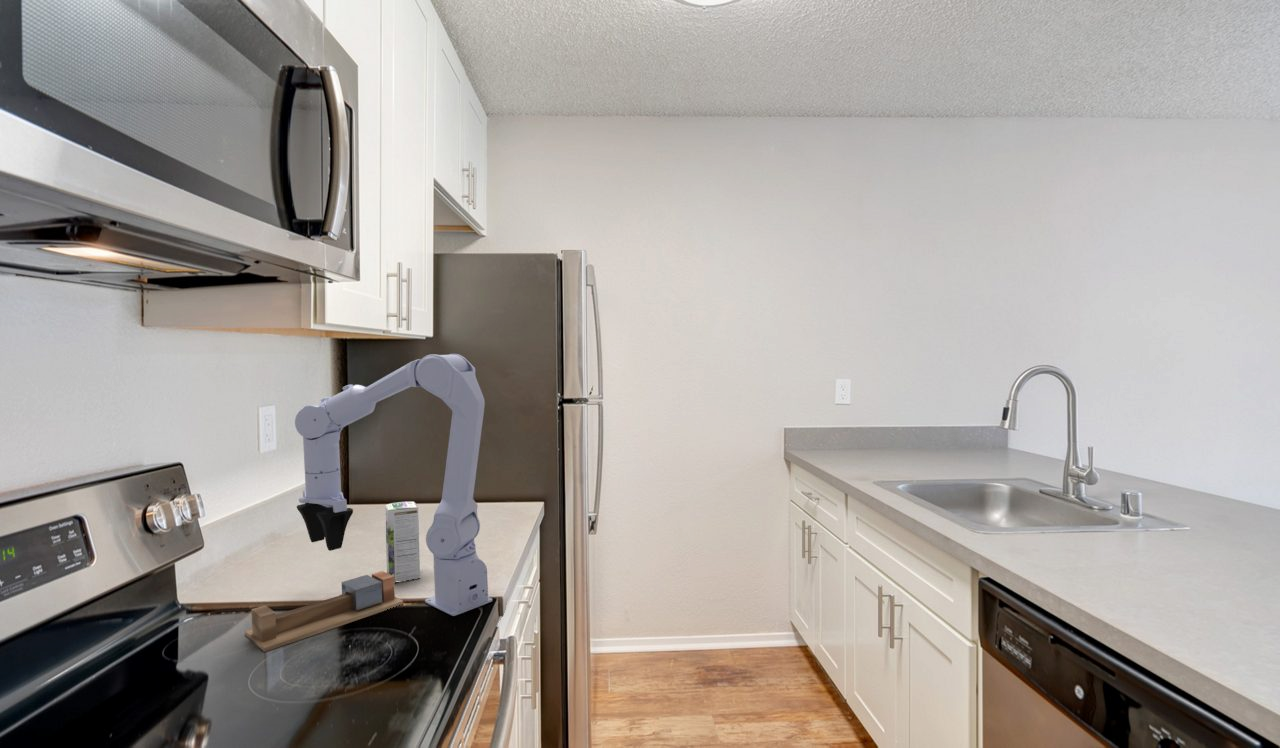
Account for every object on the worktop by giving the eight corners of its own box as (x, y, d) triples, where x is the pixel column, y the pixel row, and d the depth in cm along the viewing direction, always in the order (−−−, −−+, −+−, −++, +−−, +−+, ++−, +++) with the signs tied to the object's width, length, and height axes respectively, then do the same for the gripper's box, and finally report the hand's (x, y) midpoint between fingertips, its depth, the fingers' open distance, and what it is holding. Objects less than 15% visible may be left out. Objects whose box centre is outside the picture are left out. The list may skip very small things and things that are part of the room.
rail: (403, 604, 109) (402, 578, 109) (264, 652, 93) (263, 621, 92) (379, 591, 115) (378, 567, 115) (245, 634, 99) (243, 606, 98)
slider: (382, 602, 108) (381, 581, 108) (356, 610, 104) (355, 589, 104) (367, 594, 112) (366, 574, 111) (342, 602, 108) (341, 582, 108)
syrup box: (386, 575, 123) (383, 503, 123) (417, 569, 126) (414, 499, 125) (389, 584, 118) (386, 510, 118) (421, 578, 121) (418, 505, 120)
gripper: (283, 469, 113) (287, 542, 114) (315, 479, 104) (318, 559, 104) (324, 463, 119) (327, 533, 119) (357, 472, 109) (360, 548, 109)
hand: (326, 544), depth 112 cm, fingers open, 7 cm apart
